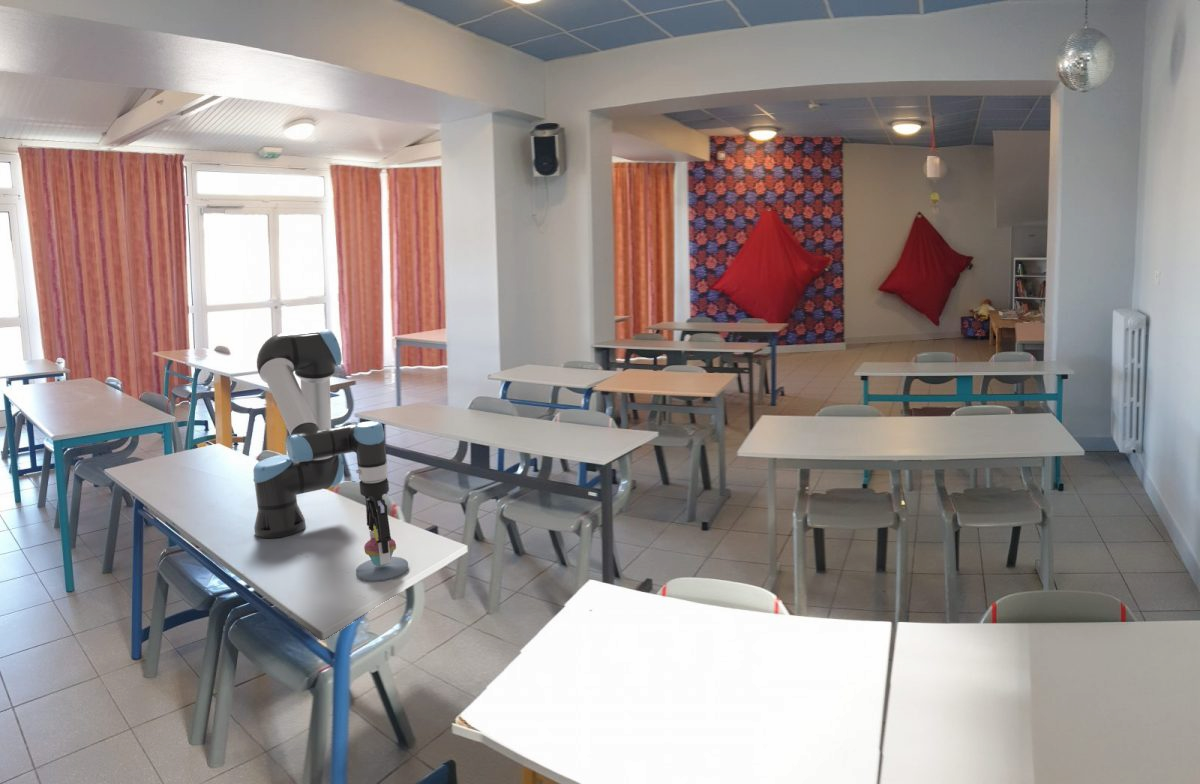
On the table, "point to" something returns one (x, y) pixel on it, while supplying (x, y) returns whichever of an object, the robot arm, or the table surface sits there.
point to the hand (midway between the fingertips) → (381, 557)
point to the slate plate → (382, 570)
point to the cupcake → (377, 548)
